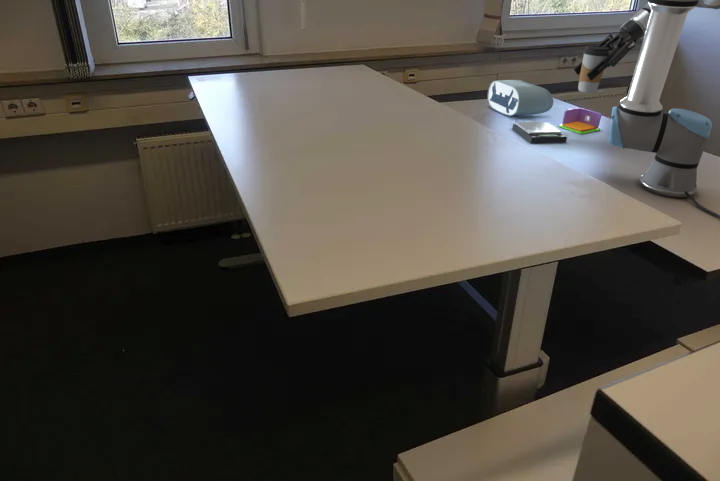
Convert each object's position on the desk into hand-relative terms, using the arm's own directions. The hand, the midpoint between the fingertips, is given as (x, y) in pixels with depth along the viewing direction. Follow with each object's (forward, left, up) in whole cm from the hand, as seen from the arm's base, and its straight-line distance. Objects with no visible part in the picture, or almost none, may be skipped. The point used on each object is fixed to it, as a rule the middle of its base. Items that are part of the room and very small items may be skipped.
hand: (582, 74), depth 187 cm
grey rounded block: (+40, +2, -25) cm, 47 cm away
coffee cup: (0, -3, -6) cm, 7 cm away
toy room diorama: (+16, -14, -25) cm, 32 cm away
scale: (+7, +8, -25) cm, 27 cm away
